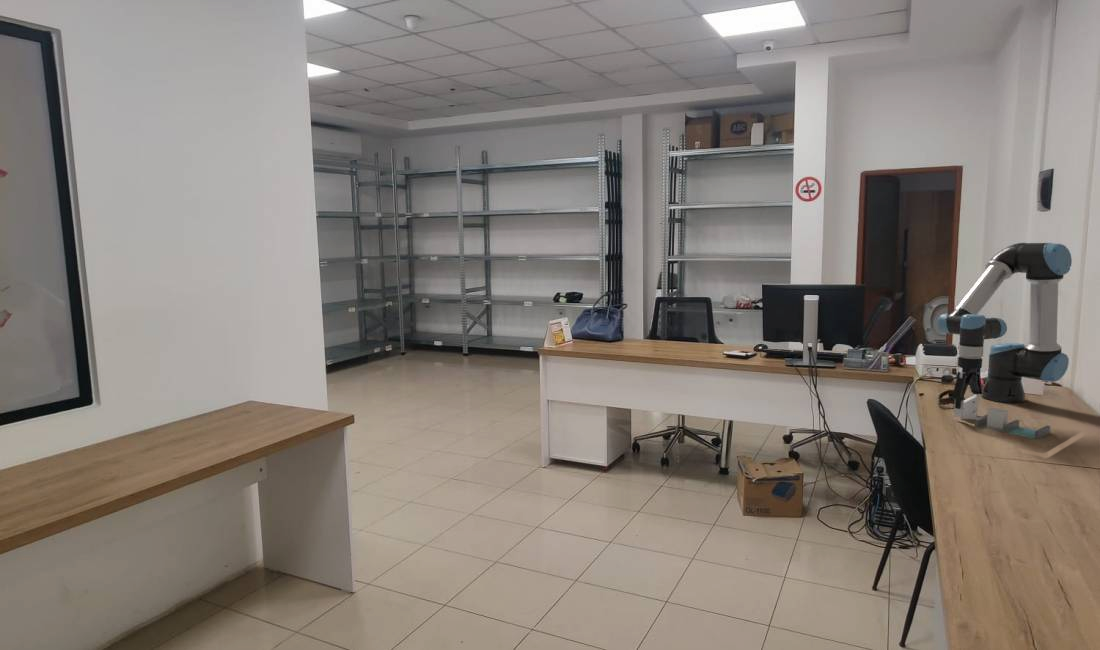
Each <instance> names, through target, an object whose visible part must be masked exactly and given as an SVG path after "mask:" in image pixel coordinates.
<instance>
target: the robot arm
mask: <svg viewBox="0 0 1100 650" xmlns="http://www.w3.org/2000/svg"><path fill="white" fill-rule="evenodd" d="M1070 251H1071V250H1069V248H1068V247H1067V246H1066V245H1065V244H1062V243H1054V242H1018V243H1014V244H1011V245H1008V246H1007V247H1004V248H1003V249H1001V250H1000V251H998V252H997V253H996V254H994V255H993V256H992V257H991V258H990V259H989V261H988V262H987V263H986V265H985V270H984V272H983V273H982V274H980V277H978V279H977V280H976V281H975V283H973V285H972V286H971V287H970V289H969V290H968V291H967V293H966V294H965V295H964V297H963V298H962V299H961V301H960V302H959V303H958V304H957V305H956V306H955V308H954V309H953V310H952V312H951V313H949V312H948V313H942V314H941V315H939V317H938V319H937V328H938V330H939V331H940V332H942V333H945V334H949V335H958V336H959V343H958V345H959V346H957V349H958V357H957V367H958V368H961V371H957V375H956V380H955V384H954V388H953V390H954V392H953V395H952V399H955V404H953V405H954V406H953V407H954V408H953V417H955V418H957V417H959V418H963V406H964V400H963V397H965V395H966V392H967V389H968V387H969V388H970V391H971V393H969V394H970V395H969V398H970V397H972V396H974V395H978V403H979V402H980V401H979V399H980V396H981V398H983V399H985V398H986V400H990V401H993V402H1001V403H1011V404H1012V403H1015V404H1018V403H1024V402H1025V401H1026V394H1025V389H1024V386H1023V384H1022V383H1023V382H1022V380H1023V379H1022V378H1026V379H1031V380H1037V381H1041V382H1051V383H1055V382H1058V381H1059V380H1061V379H1062V378H1063V377H1064V375H1066V372H1067V370H1068V367H1069V364H1070V362H1069V361H1070V360H1069V359H1070V358H1069V357H1068V355H1067V354H1066V353H1064V352H1062V346H1061V345H1060V344H1058V307H1059V301H1058V300H1059V283H1060V282H1061V281H1062V280H1063V279H1064V276H1065V275H1066V274H1068V273H1069V272H1070V270H1071V267H1072V260H1073V259H1072V254H1071V252H1070ZM1018 273H1021V274H1025V279H1026V281H1028V282H1029V283H1030V293H1029V294H1030V297H1029V298H1030V300H1029V301H1030V302H1029V304H1030V305H1029V342H1028V343H1026V344H1024V343H1018V342H1017V343H1013V342H1012V343H1008V342H1007V343H1005V342H1004V343H995V344H993V345H991V346H990V347H989V348H990V349H989V354H988V367H987V368H988V370H987V378H986V381H985V383H984V385H982V378H981V369H982V367H983V357H984V342H985V340H991V339H994V340H995V339H999V338H1002V337H1003V336H1005V334H1006V333H1007V331H1008V326H1007V323H1006V321H1005V320H1003V318H1000V317H986V316H985V315H983V314H979V313H980V312H981V311H982V309H983V308H984V307H985V306H986V304H987V303H988V302H989V300H990V299H991V298H992V296H993V295H994V294H995V293H996V292H997V291H998V289H999V288H1000V287H1001V285H1002V284H1003V283H1004V281H1006V280H1008V279H1010V278H1011V277H1012V276H1013V275H1014V274H1018ZM978 411H979V405H978V406H977V413H978ZM959 418H958V419H959Z"/></svg>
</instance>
